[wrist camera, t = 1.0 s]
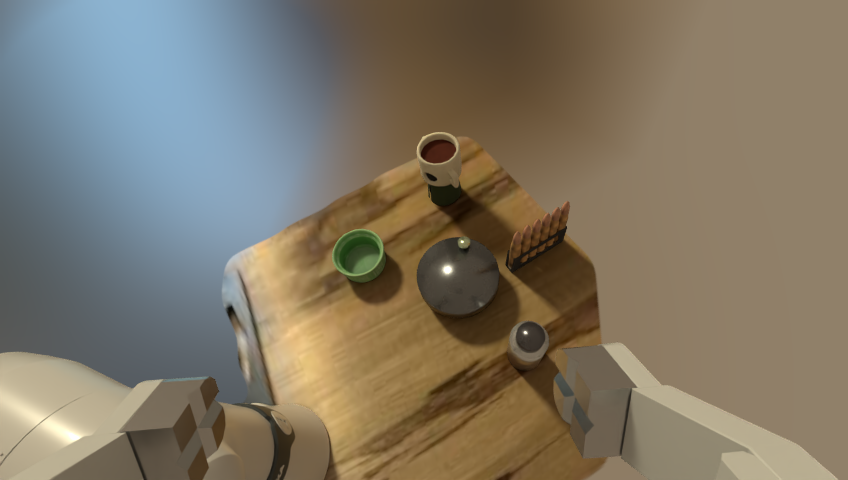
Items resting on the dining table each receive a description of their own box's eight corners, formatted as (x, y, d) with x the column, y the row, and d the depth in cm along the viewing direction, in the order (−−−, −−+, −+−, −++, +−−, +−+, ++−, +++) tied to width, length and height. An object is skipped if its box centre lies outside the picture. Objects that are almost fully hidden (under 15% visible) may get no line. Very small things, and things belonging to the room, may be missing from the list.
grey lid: (458, 338, 63) (456, 330, 59) (405, 284, 69) (399, 272, 64) (514, 283, 66) (516, 271, 62) (459, 235, 72) (457, 221, 67)
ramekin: (393, 278, 70) (387, 268, 66) (343, 291, 70) (335, 282, 66) (384, 235, 74) (378, 223, 70) (337, 247, 74) (329, 236, 70)
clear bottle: (525, 378, 59) (532, 363, 50) (500, 353, 61) (502, 335, 52) (547, 354, 60) (559, 335, 51) (522, 330, 63) (528, 308, 53)
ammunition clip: (556, 233, 69) (568, 194, 59) (563, 240, 69) (577, 202, 58) (505, 264, 68) (508, 230, 58) (511, 273, 67) (516, 240, 57)
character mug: (414, 183, 78) (402, 138, 67) (445, 166, 79) (439, 118, 68) (444, 223, 73) (436, 181, 62) (476, 204, 74) (475, 159, 63)
